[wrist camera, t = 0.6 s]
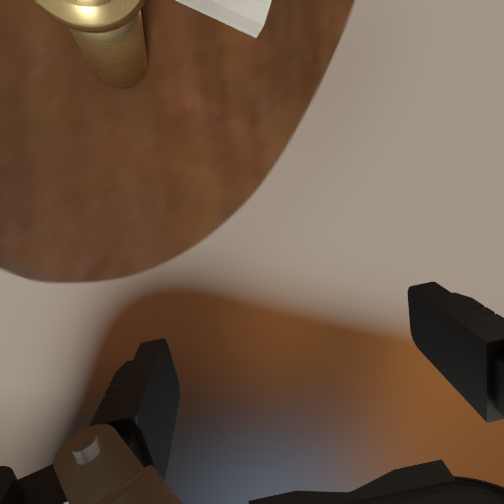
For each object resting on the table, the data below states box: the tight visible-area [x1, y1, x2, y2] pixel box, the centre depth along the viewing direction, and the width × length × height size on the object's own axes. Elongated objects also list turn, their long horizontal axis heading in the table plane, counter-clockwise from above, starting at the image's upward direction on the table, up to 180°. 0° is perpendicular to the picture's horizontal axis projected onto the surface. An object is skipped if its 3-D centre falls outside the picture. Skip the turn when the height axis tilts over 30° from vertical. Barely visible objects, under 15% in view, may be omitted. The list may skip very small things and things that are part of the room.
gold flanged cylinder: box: [34, 0, 148, 89], centre depth 23 cm, size 6×6×14 cm
